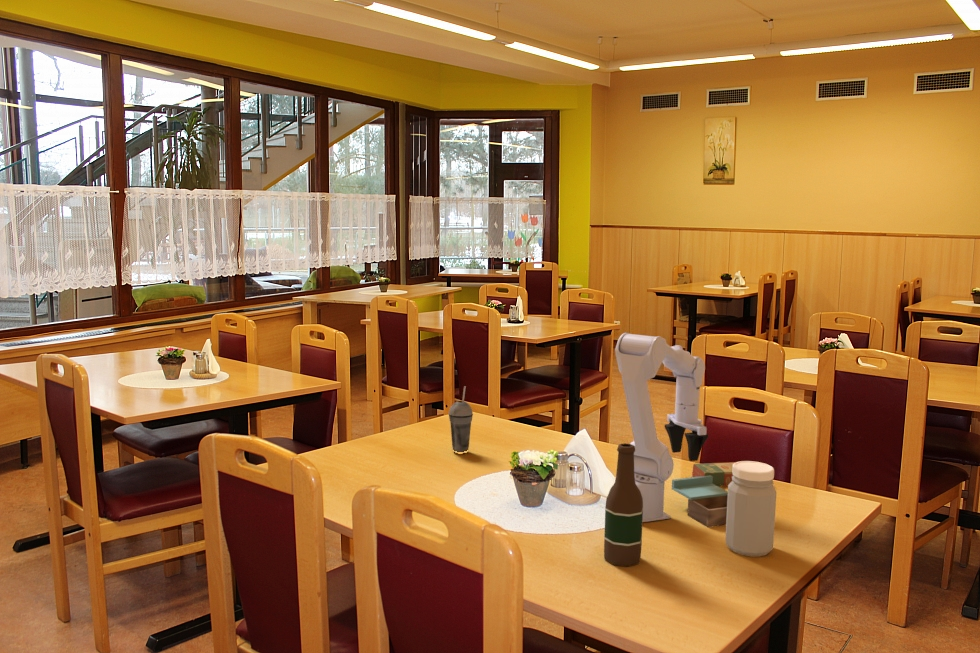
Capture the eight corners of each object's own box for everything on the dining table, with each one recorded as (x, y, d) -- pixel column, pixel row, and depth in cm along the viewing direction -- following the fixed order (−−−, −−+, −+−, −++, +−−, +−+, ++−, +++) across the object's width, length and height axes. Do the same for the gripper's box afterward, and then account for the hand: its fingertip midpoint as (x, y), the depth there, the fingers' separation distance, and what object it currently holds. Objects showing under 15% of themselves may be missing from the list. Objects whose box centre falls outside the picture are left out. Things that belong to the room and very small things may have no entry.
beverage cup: (445, 449, 238) (445, 384, 235) (468, 448, 240) (469, 383, 237) (451, 456, 231) (452, 389, 228) (475, 454, 233) (476, 388, 230)
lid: (690, 499, 184) (691, 490, 184) (671, 489, 192) (672, 479, 191) (729, 494, 188) (730, 485, 188) (709, 484, 195) (710, 475, 195)
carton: (761, 485, 209) (762, 470, 208) (703, 487, 207) (704, 472, 206) (747, 475, 217) (748, 460, 216) (691, 477, 215) (692, 462, 214)
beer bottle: (615, 548, 166) (619, 437, 163) (648, 558, 161) (653, 444, 158) (595, 560, 160) (599, 445, 157) (629, 571, 155) (634, 452, 152)
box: (707, 527, 178) (708, 510, 178) (687, 515, 186) (688, 498, 185) (748, 521, 182) (748, 505, 181) (726, 510, 189) (727, 494, 189)
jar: (733, 558, 162) (737, 473, 159) (718, 539, 171) (722, 459, 169) (780, 558, 162) (785, 473, 160) (763, 539, 172) (767, 459, 169)
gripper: (718, 408, 191) (715, 463, 192) (684, 396, 204) (682, 447, 206) (693, 410, 188) (690, 465, 190) (660, 397, 202) (658, 449, 204)
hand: (684, 456), depth 198 cm, fingers open, 7 cm apart
